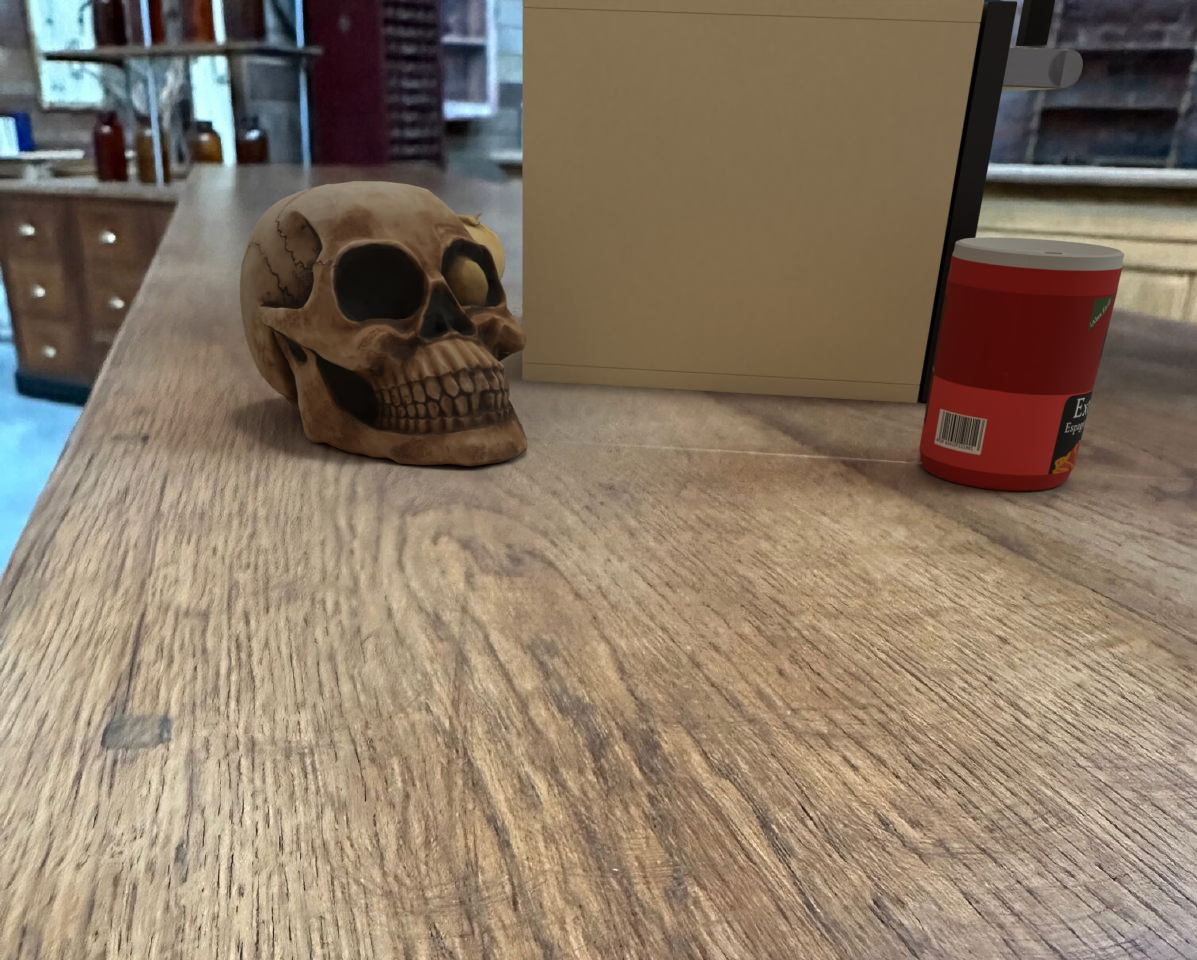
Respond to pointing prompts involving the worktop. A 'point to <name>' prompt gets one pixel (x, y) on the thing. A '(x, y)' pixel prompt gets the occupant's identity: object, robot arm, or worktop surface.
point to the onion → (485, 239)
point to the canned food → (1017, 360)
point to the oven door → (989, 132)
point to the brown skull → (383, 324)
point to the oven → (739, 190)
